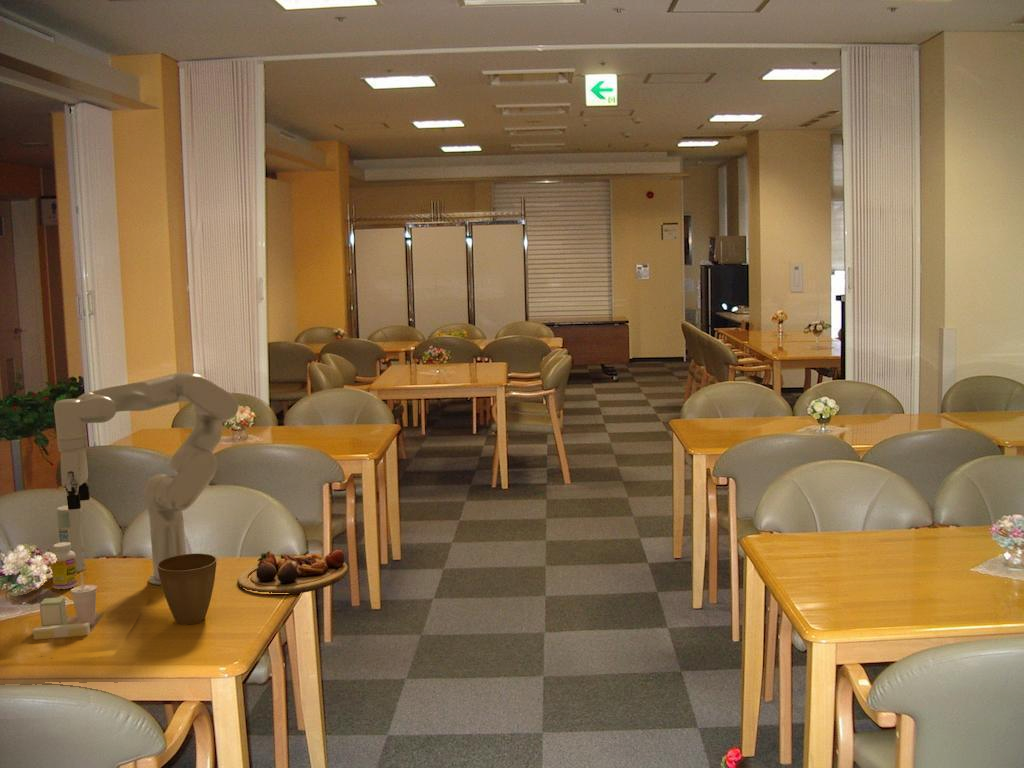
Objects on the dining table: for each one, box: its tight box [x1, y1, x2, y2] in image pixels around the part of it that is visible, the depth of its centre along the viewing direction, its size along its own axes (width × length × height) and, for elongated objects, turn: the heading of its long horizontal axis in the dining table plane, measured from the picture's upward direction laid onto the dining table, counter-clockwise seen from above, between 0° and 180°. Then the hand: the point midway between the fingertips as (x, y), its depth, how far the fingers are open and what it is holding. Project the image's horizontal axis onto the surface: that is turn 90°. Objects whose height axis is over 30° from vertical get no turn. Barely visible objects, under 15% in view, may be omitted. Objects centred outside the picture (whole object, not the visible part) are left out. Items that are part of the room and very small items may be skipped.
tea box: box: [39, 596, 67, 627], centre depth 262 cm, size 5×4×7 cm
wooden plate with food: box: [237, 549, 349, 595], centre depth 299 cm, size 32×32×8 cm
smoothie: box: [70, 572, 98, 626], centre depth 263 cm, size 6×6×14 cm
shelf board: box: [33, 612, 105, 641], centre depth 263 cm, size 13×16×1 cm
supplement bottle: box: [51, 542, 79, 590], centre depth 297 cm, size 7×7×13 cm
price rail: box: [32, 623, 91, 640], centre depth 256 cm, size 13×2×4 cm, turn 98°
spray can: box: [56, 504, 86, 573], centre depth 312 cm, size 6×6×20 cm
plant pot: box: [157, 553, 218, 625], centre depth 266 cm, size 15×15×16 cm
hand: (79, 504), depth 280 cm, fingers open, 9 cm apart
